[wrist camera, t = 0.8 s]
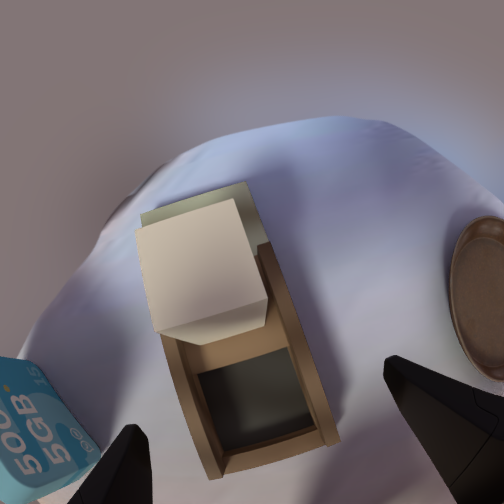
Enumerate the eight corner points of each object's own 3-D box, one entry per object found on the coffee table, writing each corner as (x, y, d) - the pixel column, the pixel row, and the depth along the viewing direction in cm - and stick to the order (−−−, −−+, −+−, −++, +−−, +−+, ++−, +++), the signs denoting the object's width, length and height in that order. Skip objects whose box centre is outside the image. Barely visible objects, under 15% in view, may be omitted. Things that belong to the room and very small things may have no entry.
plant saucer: (544, 295, 23) (559, 288, 20) (493, 412, 19) (511, 414, 16) (471, 199, 28) (484, 187, 25) (403, 308, 24) (418, 300, 21)
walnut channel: (332, 433, 20) (346, 445, 16) (216, 468, 19) (208, 486, 15) (246, 192, 28) (244, 167, 24) (147, 224, 27) (132, 203, 23)
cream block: (264, 325, 21) (267, 298, 12) (200, 345, 21) (154, 332, 12) (244, 265, 23) (233, 198, 14) (183, 284, 23) (134, 229, 13)
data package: (108, 455, 19) (24, 492, 8) (85, 476, 18) (6, 512, 7) (36, 360, 22) (-53, 344, 11) (18, 384, 21) (-66, 376, 10)
